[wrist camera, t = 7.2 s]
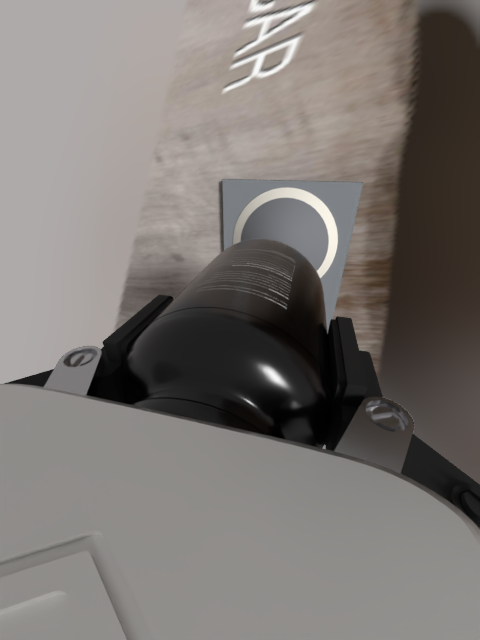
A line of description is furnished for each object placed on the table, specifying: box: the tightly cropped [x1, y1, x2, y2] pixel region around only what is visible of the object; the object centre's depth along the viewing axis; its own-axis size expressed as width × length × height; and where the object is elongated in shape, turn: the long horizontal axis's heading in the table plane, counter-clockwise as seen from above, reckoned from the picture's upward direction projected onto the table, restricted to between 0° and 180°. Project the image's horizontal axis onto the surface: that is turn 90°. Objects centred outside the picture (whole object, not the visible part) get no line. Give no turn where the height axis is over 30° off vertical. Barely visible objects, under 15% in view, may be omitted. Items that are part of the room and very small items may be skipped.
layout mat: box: [222, 179, 363, 334], centre depth 27 cm, size 16×12×1 cm
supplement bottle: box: [122, 239, 333, 448], centre depth 10 cm, size 7×7×12 cm
